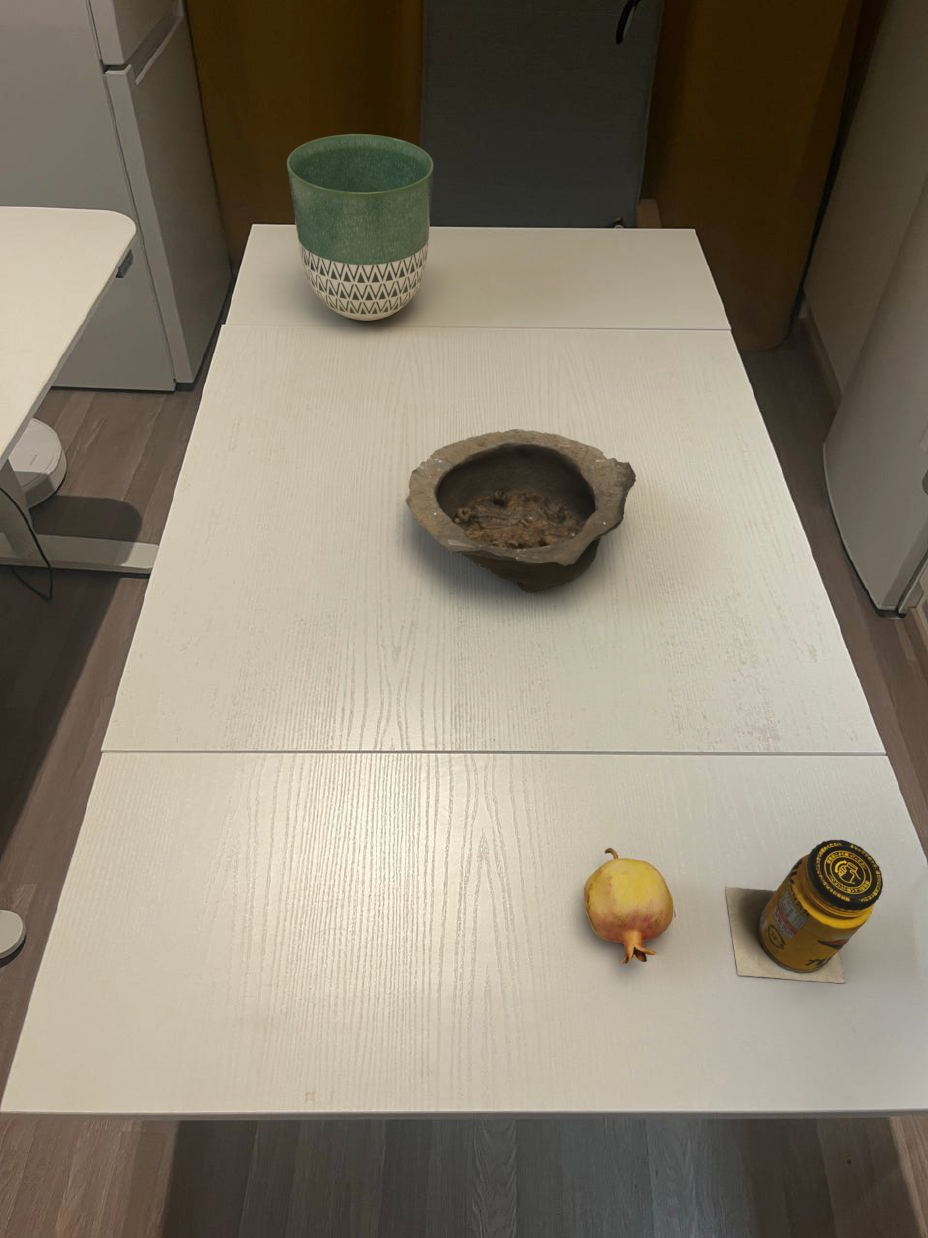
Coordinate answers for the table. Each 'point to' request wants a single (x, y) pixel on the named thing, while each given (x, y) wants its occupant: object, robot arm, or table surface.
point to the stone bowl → (521, 503)
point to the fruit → (628, 904)
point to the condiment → (805, 915)
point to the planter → (362, 220)
